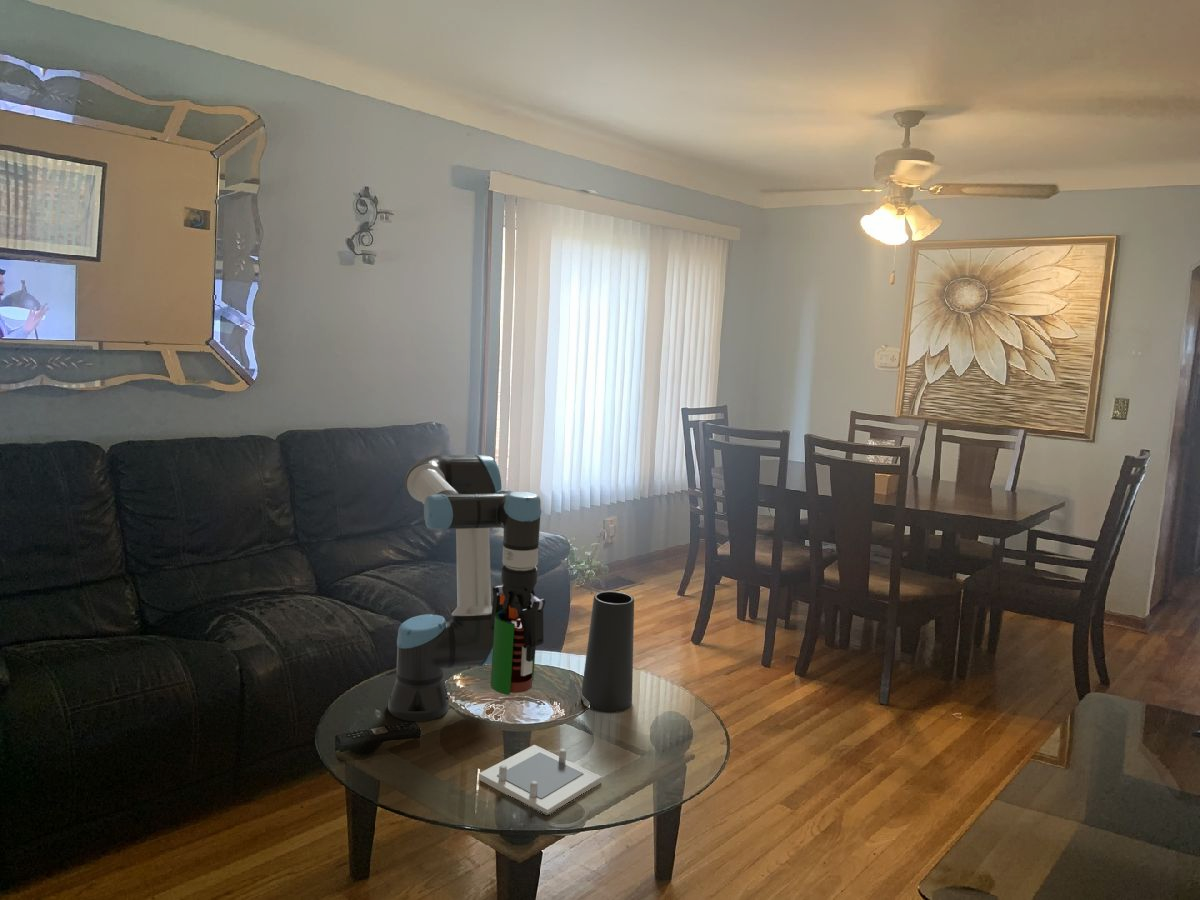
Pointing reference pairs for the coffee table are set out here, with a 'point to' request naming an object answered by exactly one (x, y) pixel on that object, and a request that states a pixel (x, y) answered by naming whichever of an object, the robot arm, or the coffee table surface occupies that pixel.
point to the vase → (610, 653)
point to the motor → (509, 654)
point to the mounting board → (540, 778)
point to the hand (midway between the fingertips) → (514, 668)
